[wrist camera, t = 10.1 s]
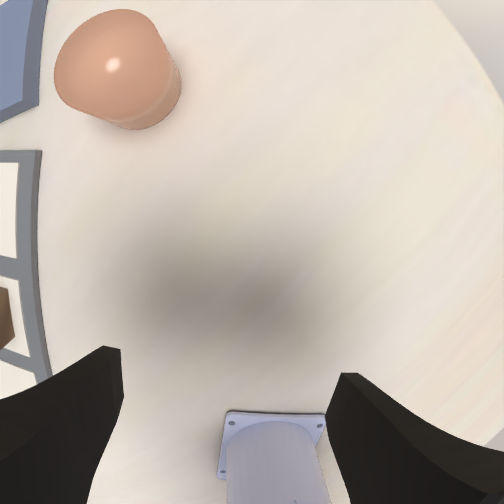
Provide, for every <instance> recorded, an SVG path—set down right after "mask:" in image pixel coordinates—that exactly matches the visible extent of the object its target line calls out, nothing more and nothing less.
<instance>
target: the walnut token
mask: <svg viewBox="0 0 504 504" xmlns="http://www.w3.org/2000/svg"><path fill="white" fill-rule="evenodd" d="M14 337H15V333H14V327H13V321H12V315H11V309H10V301H9V293H8V289H7V288H3V287H0V350H1V349H2V348H3V347H5V346H6V345H7V344H8V343H9V342H10V341H11V340H12V339H13V338H14Z"/></svg>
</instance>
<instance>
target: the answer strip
mask: <svg viewBox="0 0 504 504" xmlns="http://www.w3.org/2000/svg"><path fill="white" fill-rule="evenodd" d="M41 155H42V151H36V150H25V151H0V287H3V288H7V289H8V293H9V301H10V309H11V315H12V321H13V327H14V333H15V337H14V338H13V339H12V340H11V341H10V342H9V343H8V344H7V345H6V346H5V347H3V348H2V349H1V350H0V399H3V398H6V397H9V396H11V395H14V394H17V393H19V392H22V391H24V390H26V389H28V388H31V387H33V386H35V385H37V384H39V383H41V382H42V381H44V380H46V379H48V378H50V377H52V371H51V367H50V362H49V357H48V351H47V346H46V340H45V334H44V327H43V320H42V312H41V303H40V292H39V280H38V263H37V204H38V187H39V174H40V164H41Z"/></svg>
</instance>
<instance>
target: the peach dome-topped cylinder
mask: <svg viewBox="0 0 504 504" xmlns="http://www.w3.org/2000/svg"><path fill="white" fill-rule="evenodd" d="M54 83H55V88H56V91H57V93H58V95H59V97H60V98H61V99H62V101H63V102H64V103H66V104H67V105H68V106H70V107H71V108H74V109H76V110H79V111H81V112H84V113H87V114H89V115H92V116H94V117H97V118H100V119H102V120H105V121H107V122H110V123H112V124H115V125H117V126H120V127H122V128H126V129H132V130H138V129H144V128H148V127H151V126H153V125H155V124H157V123H159V122H160V121H162V120H163V119H164V118H165V117H166V116H168V114H169V113H170V112H171V111H172V110H173V108H174V107H175V105H176V103H177V101H178V99H179V96H180V93H181V77H180V74H179V71H178V69H177V67H176V65H175V63H174V61H173V59H172V58H171V56H170V54H169V52H168V50H167V48H166V46H165V44H164V42H163V41H162V39H161V37H160V35H159V33H158V31H157V29H156V27H155V25H154V24H153V23H152V21H151V20H150V19H149V18H148V17H146V16H145V15H143V14H142V13H139V12H137V11H133V10H127V9H117V10H110V11H107V12H103V13H101V14H98V15H96V16H94V17H92V18H90V19H89V20H87V21H86V22H84V23H83V24H82V25H80V26H79V27H78V28H77V29H76V30H75V31H74V32H73V33H72V34H71V35H70V36H69V37H68V39H67V40H66V42H65V43H64V45H63V46H62V48H61V50H60V52H59V54H58V57H57V60H56V63H55V68H54Z"/></svg>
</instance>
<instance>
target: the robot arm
mask: <svg viewBox="0 0 504 504" xmlns="http://www.w3.org/2000/svg"><path fill="white" fill-rule="evenodd" d="M123 398H124V392H123V381H122V368H121V352H120V349H117V348H113V347H108V346H101V347H99V348H98V349H96V350H95V351H93V352H91V353H90V354H88V355H87V356H85V357H83V358H82V359H80V360H79V361H77V362H76V363H74V364H72V365H71V366H69V367H67V368H66V369H64V370H63V371H61V372H59V373H57V374H55V375H54V376H52V377H50V378H48V379H46V380H44V381H42V382H41V383H39V384H37V385H35V386H33V387H31V388H28V389H26V390H24V391H22V392H19V393H17V394H14V395H11V396H9V397H6V398H3V399H0V504H87V500H88V496H89V492H90V488H91V484H92V480H93V477H94V474H95V472H96V469H97V467H98V464H99V462H100V459H101V457H102V455H103V452H104V450H105V448H106V446H107V443H108V441H109V439H110V436H111V434H112V432H113V429H114V427H115V425H116V422H117V419H118V416H119V413H120V409H121V406H122V402H123ZM230 421H234V422H230ZM318 424H319V425H318ZM325 425H326V427H327V432H328V437H329V441H330V444H331V447H332V450H333V453H334V455H335V458H336V461H337V464H338V466H339V469H340V472H341V475H342V477H343V480H344V483H345V486H346V488H347V492H348V495H349V498H350V503H351V504H504V452H502V451H498V450H494V449H489V448H486V447H482V446H479V445H476V444H473V443H470V442H468V441H465V440H462V439H460V438H457V437H455V436H453V435H451V434H449V433H447V432H445V431H443V430H441V429H439V428H437V427H435V426H433V425H431V424H430V423H428V422H426V421H425V420H423V419H421V418H420V417H418V416H417V415H415V414H414V413H412V412H411V411H409V410H408V409H406V408H405V407H403V406H402V405H401V404H399V403H398V402H396V401H395V400H394V399H392V398H391V397H390V396H388V395H387V394H386V393H384V392H383V391H382V390H381V389H379V388H378V387H377V386H375V385H374V384H373V383H371V382H370V381H369V380H367V379H366V378H364V377H363V376H362V375H360V374H358V373H341V375H340V377H339V380H338V383H337V386H336V388H335V391H334V394H333V396H332V399H331V401H330V404H329V406H328V409H327V411H326V414H325V415H286V414H260V413H245V412H229V413H227V414H226V419H225V425H224V431H223V438H222V444H221V450H220V456H219V463H218V469H217V478H218V479H221V480H227V504H332V503H331V499H330V496H329V493H328V489H327V486H326V483H325V479H324V476H323V473H322V469H321V466H320V462H319V459H318V456H317V452H316V449H315V447H316V445H317V443H318V441H319V439H320V436H321V434H322V432H323V430H324V427H325Z"/></svg>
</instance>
